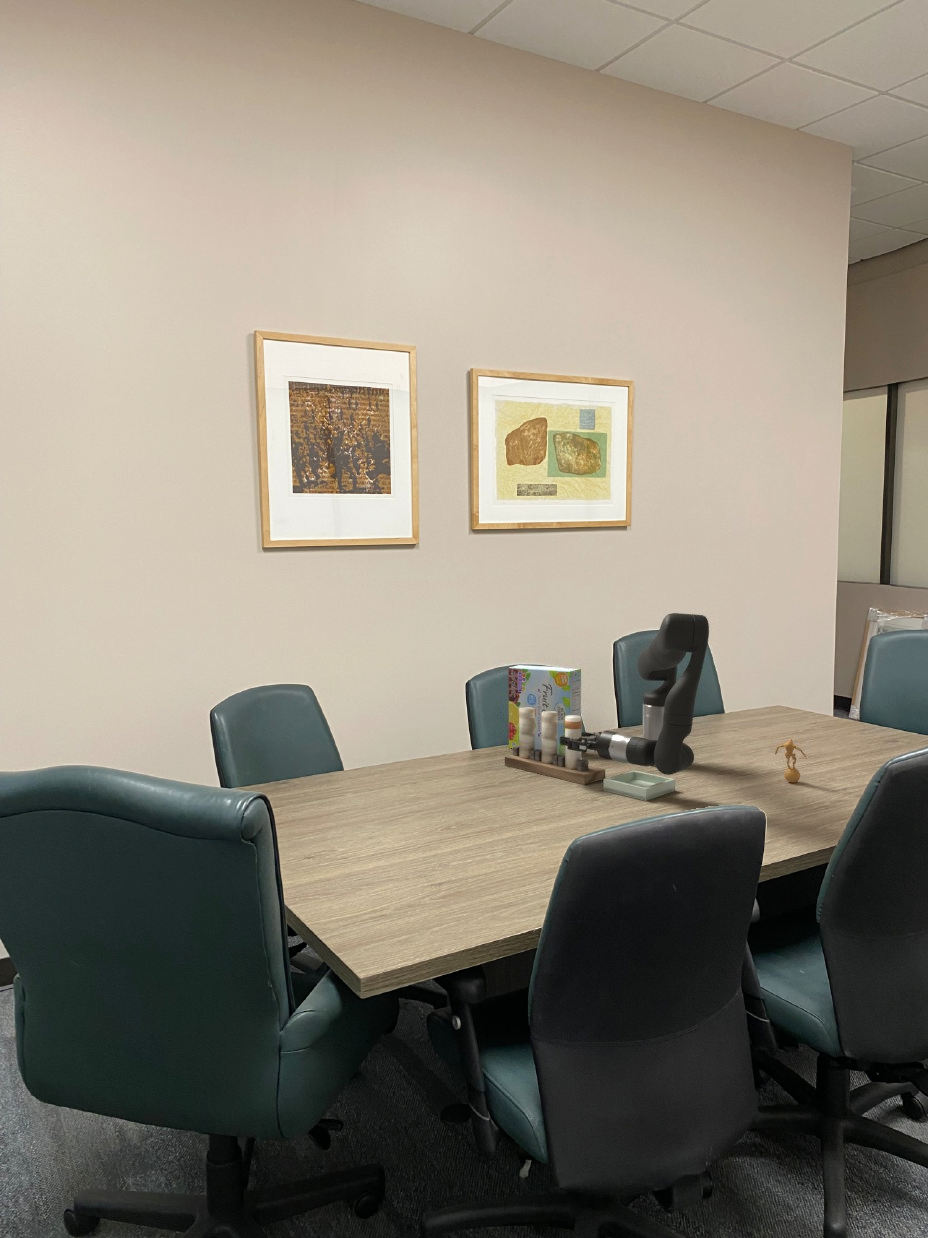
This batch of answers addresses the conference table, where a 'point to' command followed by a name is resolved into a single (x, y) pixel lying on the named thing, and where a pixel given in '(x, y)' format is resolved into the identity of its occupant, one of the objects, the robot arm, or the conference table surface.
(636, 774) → the tray
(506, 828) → the conference table surface
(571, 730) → the marked fuse
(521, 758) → the rail
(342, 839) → the conference table surface
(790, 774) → the figurine
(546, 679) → the snack box
